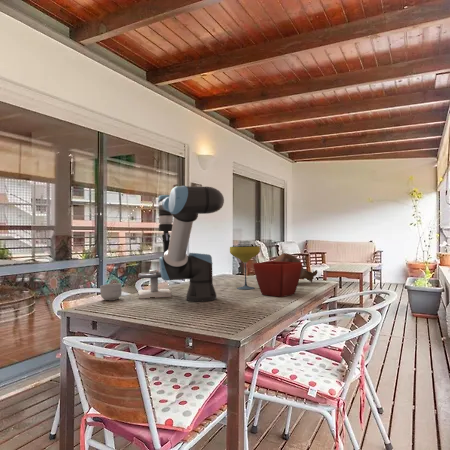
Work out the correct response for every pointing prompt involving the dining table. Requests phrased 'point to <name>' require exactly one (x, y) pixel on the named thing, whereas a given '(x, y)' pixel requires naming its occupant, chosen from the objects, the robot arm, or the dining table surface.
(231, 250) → the cocktail glass
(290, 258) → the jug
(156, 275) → the handwheel
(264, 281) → the plant pot
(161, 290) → the wheel stand
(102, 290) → the teacup
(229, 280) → the dining table surface
